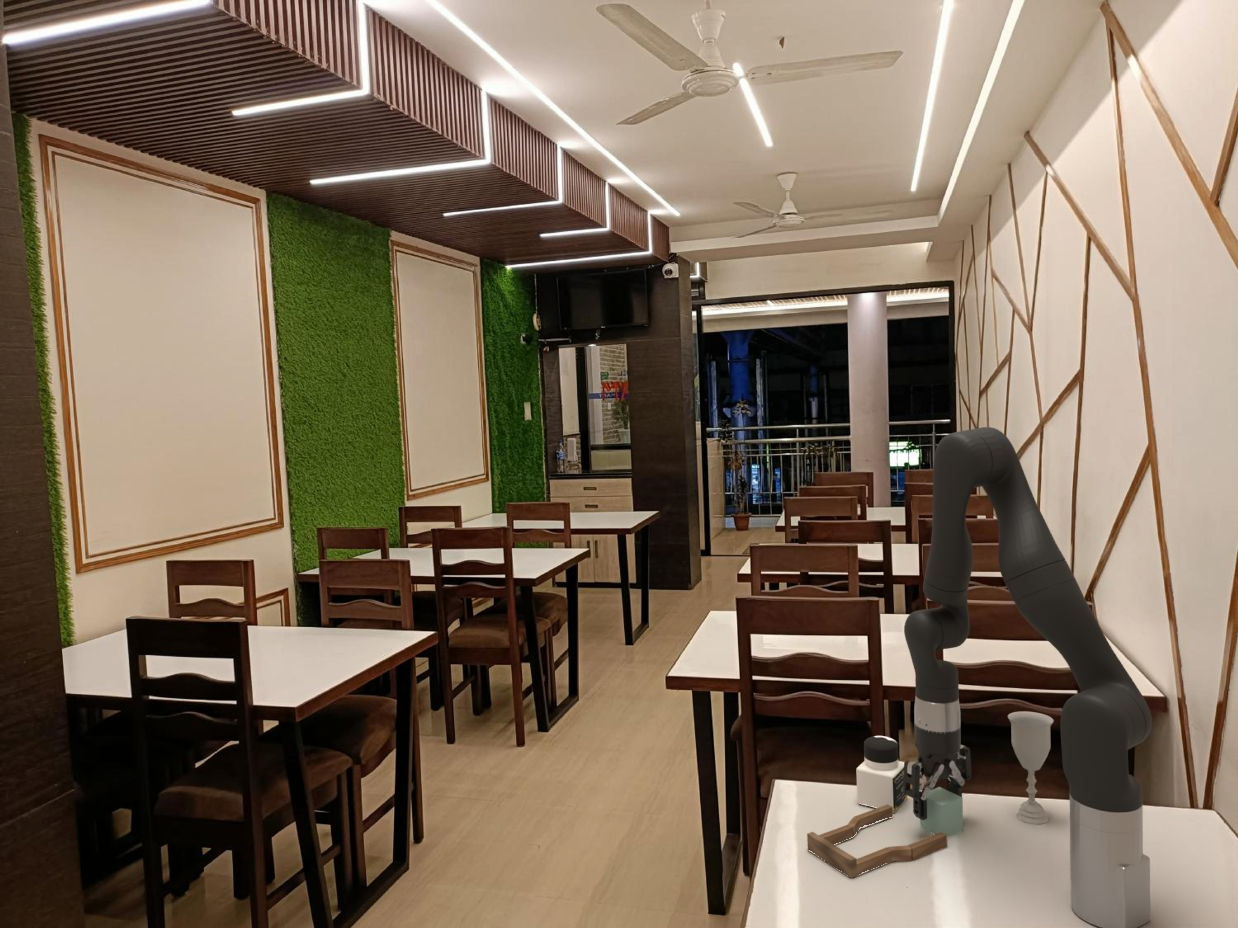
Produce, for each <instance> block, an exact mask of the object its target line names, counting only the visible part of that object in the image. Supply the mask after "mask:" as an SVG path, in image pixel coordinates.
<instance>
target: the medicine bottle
mask: <svg viewBox="0 0 1238 928" xmlns="http://www.w3.org/2000/svg"><path fill="white" fill-rule="evenodd" d="M863 751H864V752H863V753H864V754H863V755H864V756H863V757H864V758H863V759H864V761H863V762H861V764H859V765H858V767H856V771H855V772H856V773H855V774H856V796H857V797H856V800H857V804H858V803H859V804H860V803H861V804H867V805H869V806H874V807H877V808H879V807H882V806H885V805H887V804H888V805H890V806H891V807H893V814H895V813H896V812H897V811H898V809H900V807H901V806H902V805H903V804H904V803H905V802H906V800H907V799H908V795H906V794H904V793H903V785H904V763H905V761H900V760H899V746H898V742H897V741H896V740H895V739H893V738H891V737H890V736H886V735H885V736H883V735H875V736H870V737H867V738H866V739H865V740H864V742H863ZM859 804H858V805H859Z"/></svg>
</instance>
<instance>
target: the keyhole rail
mask: <svg viewBox="0 0 1238 928" xmlns="http://www.w3.org/2000/svg"><path fill="white" fill-rule="evenodd" d="M892 816H893V817H894V813H893V807H891V806H890V805H888V804H887V805H885V806H882V807H879V808H876V809H874V808H873V809H872V810H869V811H866V812H863V813H861V814H858V815H854V816H853V817H852V818H851V820H850V821H849V822H848V823H847V824H845V825H843V826H839V827H838V828H835V829H832V830H829V831H826V832H824V833H821V834H817V833H816V832H814V831H810V832H808V833H806V835H807V837H806V839H807V841H806V842H807V851H808V850H810V851H812V852H813V853H815V854H816V855H817V856H819V857H820V858H822V859H823V860H825V861H826V862H827V863H826V862H825V863H826V864H828V863H829V864H830V865H829V864H828V865H829V866H831V865H832V866H834V867H835V868H837V869H838V870H840V871H842V872H843V873H845V874H846V875H848V876H849V877H851V878H852V877H855V876H857V875H859V874H861V873H862V872H865V871H867V870H871V869H873V868H876V867H878V866H881V865H883V864H885V863H889V862H891V863H893V862H892V861H903V862H912V861H915V859H916V860H918V859H920V858H922V856H923V857H925V856H927V855H930V854H932V852H933V853H934V851H935V852H937V851H940V850H942V849H944V848H947V847H948V837H947V835H946V834H944V833H942V832H940V833H938V834H933V835H930V836H928V837H926V838H923V839H921V840H918V841H916V842H913V843H911V844H908V845H897V846H896V845H895V846H894V845H893V846H886V847H884V848H880V849H879V850H876V851H874V852H871V853H869V854H866V855H864V856H861V857H858V858H856V857H854V856H853V855H851V854H850V853H849V852H846V851H845V850H844V849H842V848H840V847H839V846H837V845H834V844H836V843H839V842H842V841H844V840H846V839H849V838H851V837H853V836H854V835H855V834H856V832H857V831H858V830H859V828H860V827H863V826H864V825H869V824H872V823H875V822H876V821H879V820H882V819H885V818H889V817H892ZM842 843H843V842H842ZM817 856H816V857H817ZM820 858H819V859H820ZM823 860H822V861H823ZM911 860H912V861H911ZM889 864H890V863H889ZM832 866H831V867H832ZM834 867H833V868H834ZM835 868H834V869H835ZM837 869H836V870H837ZM838 870H837V871H838ZM840 871H839V872H840ZM842 872H841V873H842ZM843 873H842V874H843ZM845 874H844V875H845ZM846 875H845V876H846ZM848 876H847V877H848ZM859 876H860V875H859ZM849 877H848V878H849ZM857 877H858V876H857ZM851 878H850V879H851ZM855 878H856V877H855ZM852 879H853V878H852Z"/></svg>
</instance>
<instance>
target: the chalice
mask: <svg viewBox="0 0 1238 928" xmlns="http://www.w3.org/2000/svg"><path fill="white" fill-rule="evenodd" d="M1007 718H1008V720H1009V722H1010V724H1011V725H1010V727H1011V728H1010V729H1011V730H1010V731H1011V734H1010V735H1011V746H1012V747H1013V751H1014V754H1015V756H1016V758H1017V759H1018V762H1019V763H1020V765H1021V766H1022V768H1023V769H1024V770H1027V773H1028V774H1027V778H1026V782H1027V783H1028V786H1027V788H1026V789H1025V791H1026V793H1027V795H1028V799H1027V800H1026V801H1023V802H1022V803H1021V804H1020V807H1019V808H1018V811H1017V813H1016V817H1017V818H1018V819H1019V820H1020V821H1022V822H1024V823H1028V824H1034V825H1041V824H1045V823H1047V822H1048V821H1049V818H1048V816H1047V814H1046V812H1045V810H1044V807H1043V806H1042V805H1041V804H1040V803H1039V802H1038V801H1036V798H1035V797H1036V794H1037V792H1038V790H1037V789H1036V787H1035V785H1036V783H1037V779H1036V776H1035V772H1036V771H1039V770H1041V768H1042V766H1043V765H1044V763H1045V761H1046V759H1047V757H1048V755H1049V752H1050V750H1051V745H1052V743H1051V726H1052V725H1053V723H1054V719H1053V718H1052V717H1051V716H1050V715H1047V714H1044V713H1040V712H1034V711H1014V712H1011V713H1009V714H1008V715H1007Z"/></svg>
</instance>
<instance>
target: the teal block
mask: <svg viewBox="0 0 1238 928" xmlns="http://www.w3.org/2000/svg"><path fill="white" fill-rule="evenodd" d="M926 799H927V819H925V820H921V819H919V825H920V826H921V827H923V828H924V830H925V829H926V830H925V831H927V830H928V832H929V831H930V832H929V833H931V832H932V833H931V834H933V833H934V834H933V835H935V834H938V833H940V832H942V833H944V834H946V835H947V838H948V837H950V836H953V835H955V834H958V833H961V832H963V831H964V809H963V808H964V807H963V803H964V802H963V801H964V800H963V796H962V797H960V796H958V795H956V794H954V793H952V792H949V791H948V790H947V789H945V788H943V787H941V786H938V787H936V788H933V789H930V791H929V793H928V795H927V798H926ZM921 827H920V828H921ZM923 828H922V829H923Z"/></svg>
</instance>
